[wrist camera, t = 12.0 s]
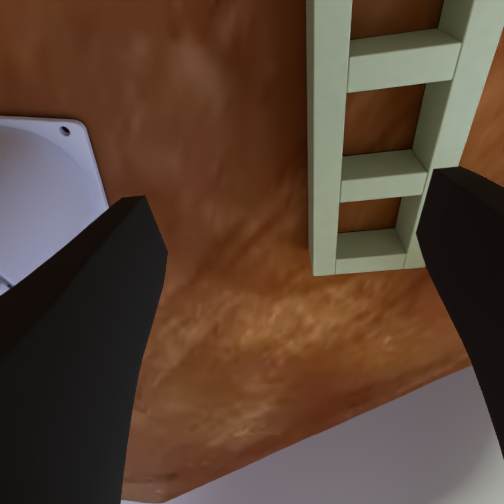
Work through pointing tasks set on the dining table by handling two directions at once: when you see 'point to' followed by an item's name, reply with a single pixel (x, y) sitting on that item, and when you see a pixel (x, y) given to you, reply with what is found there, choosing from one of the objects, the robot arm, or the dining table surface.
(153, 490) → the dining table surface
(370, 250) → the rack
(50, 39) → the dining table surface
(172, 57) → the dining table surface
